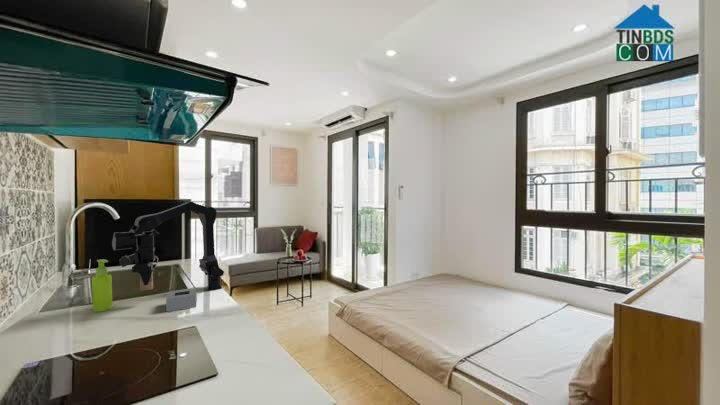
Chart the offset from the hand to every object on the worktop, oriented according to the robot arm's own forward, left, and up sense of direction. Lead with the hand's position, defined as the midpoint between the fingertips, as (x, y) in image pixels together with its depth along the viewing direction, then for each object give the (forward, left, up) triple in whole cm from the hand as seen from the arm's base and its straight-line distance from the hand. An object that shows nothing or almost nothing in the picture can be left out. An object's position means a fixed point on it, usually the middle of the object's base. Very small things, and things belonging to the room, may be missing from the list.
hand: (146, 284), depth 121 cm
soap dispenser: (-3, -15, -9) cm, 18 cm away
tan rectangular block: (0, 0, -2) cm, 2 cm away
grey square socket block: (+8, +13, -9) cm, 18 cm away
